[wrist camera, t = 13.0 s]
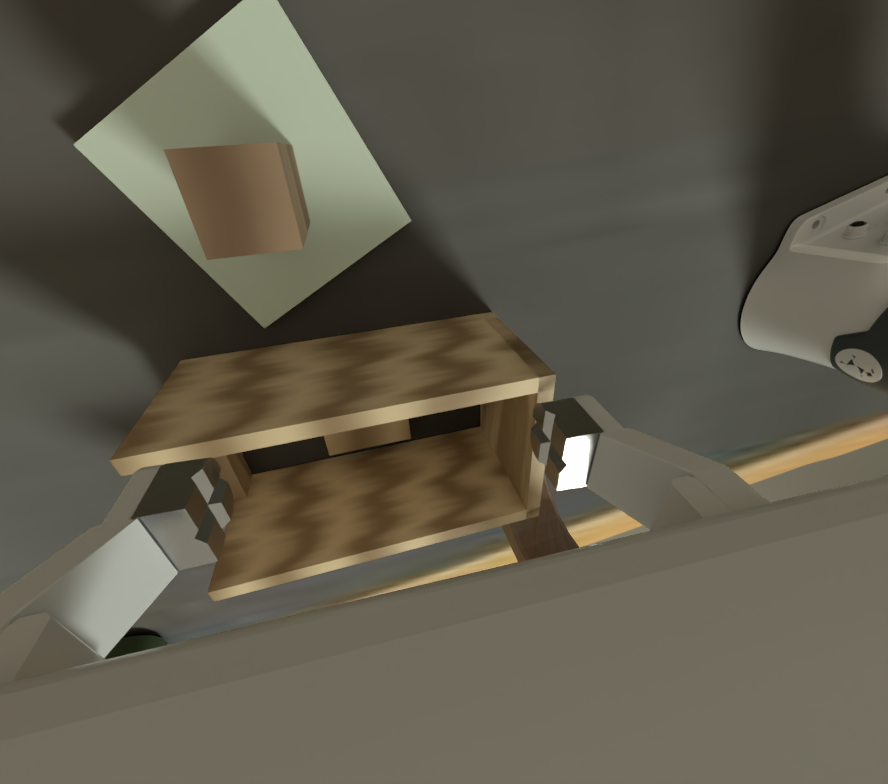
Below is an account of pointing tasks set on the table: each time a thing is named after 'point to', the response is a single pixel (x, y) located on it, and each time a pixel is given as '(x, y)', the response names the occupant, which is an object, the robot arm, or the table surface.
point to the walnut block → (242, 197)
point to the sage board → (249, 122)
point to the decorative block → (540, 531)
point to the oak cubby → (354, 443)
